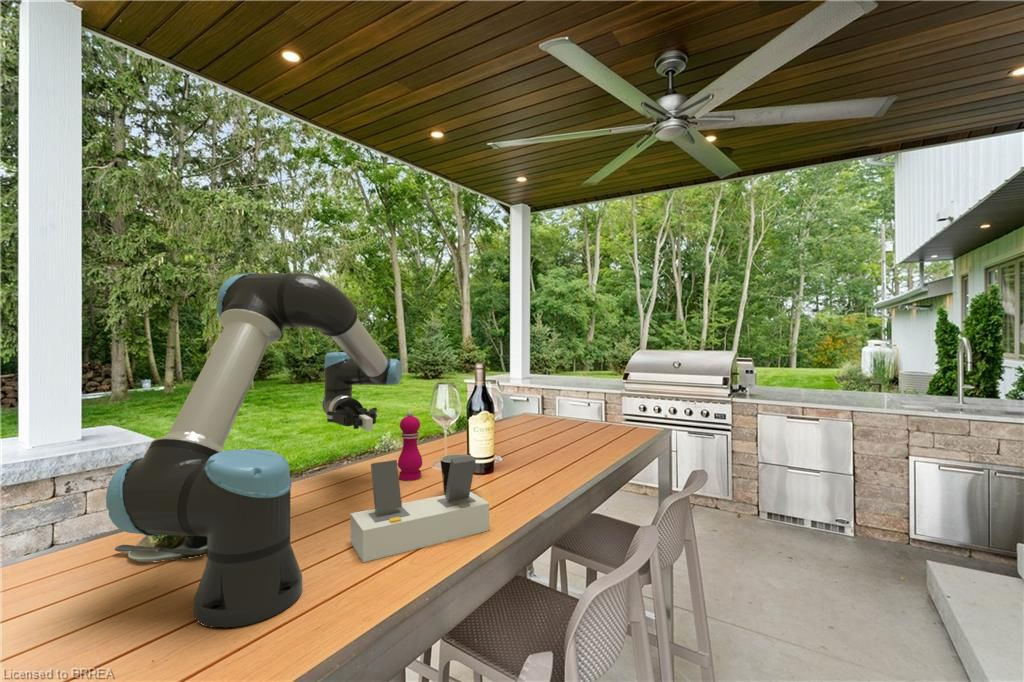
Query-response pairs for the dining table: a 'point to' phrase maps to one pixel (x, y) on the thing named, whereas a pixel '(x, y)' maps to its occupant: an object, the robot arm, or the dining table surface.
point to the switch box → (417, 525)
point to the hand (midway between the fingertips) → (369, 424)
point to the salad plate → (165, 548)
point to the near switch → (386, 485)
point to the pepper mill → (410, 449)
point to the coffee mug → (448, 467)
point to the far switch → (460, 478)
